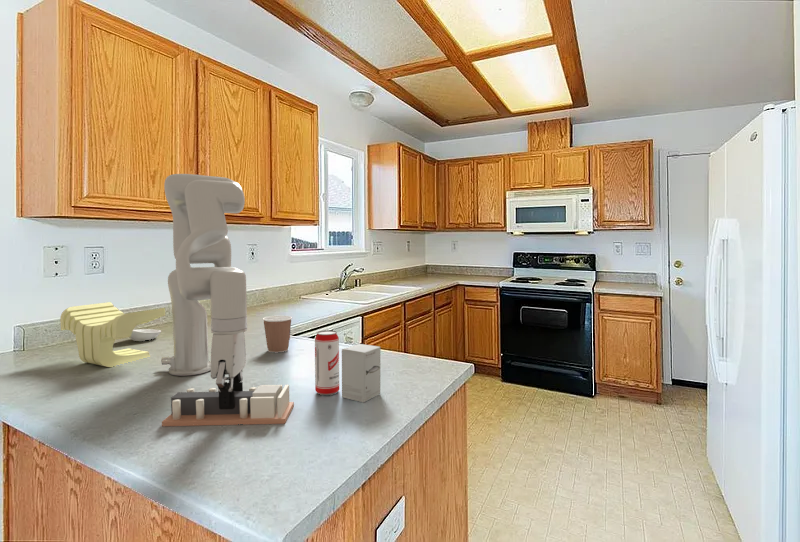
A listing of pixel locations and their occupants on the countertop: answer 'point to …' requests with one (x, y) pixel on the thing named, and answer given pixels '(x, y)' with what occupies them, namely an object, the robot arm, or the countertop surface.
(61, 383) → the countertop surface
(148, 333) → the spoon rest
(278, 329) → the coffee cup
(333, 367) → the beer can
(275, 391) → the grey post with base
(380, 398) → the countertop surface
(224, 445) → the countertop surface
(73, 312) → the slatted curved stool
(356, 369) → the supplement box
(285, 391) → the orange peg rack
